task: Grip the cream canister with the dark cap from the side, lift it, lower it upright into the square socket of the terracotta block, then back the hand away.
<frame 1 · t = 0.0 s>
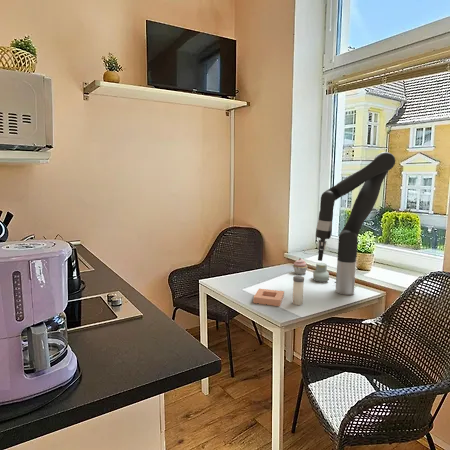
hand: (320, 258, 196), 17 cm above the table, tool pointing down, fingers open, 8 cm apart
socket block: (269, 299, 183), on the table
canister: (297, 303, 179), on the table
cupcake: (299, 273, 227), on the table
air freshener: (320, 280, 214), on the table
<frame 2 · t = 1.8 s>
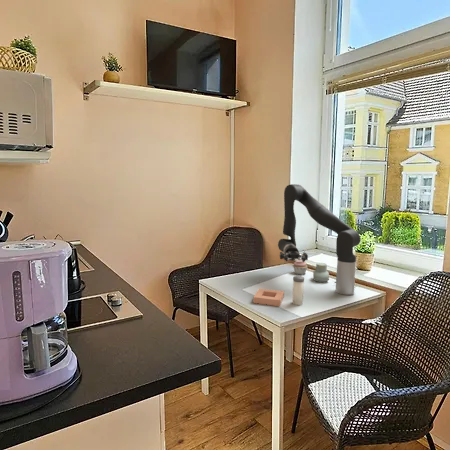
hand: (295, 259, 187), 19 cm above the table, tool horizontal, fingers open, 8 cm apart
nothing on the table moved.
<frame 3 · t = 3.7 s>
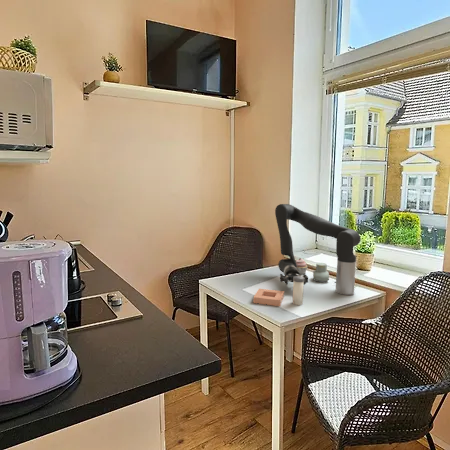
hand: (295, 282, 185), 8 cm above the table, tool horizontal, fingers open, 8 cm apart
nothing on the table moved.
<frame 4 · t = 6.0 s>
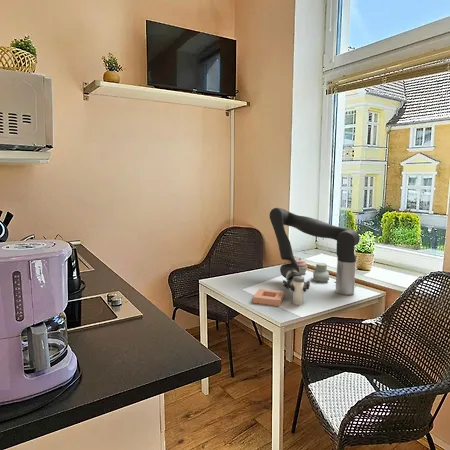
hand: (299, 289, 175), 8 cm above the table, tool horizontal, fingers closed on canister, 4 cm apart
canister: (297, 303, 179), on the table, touching gripper
everything else where it was.
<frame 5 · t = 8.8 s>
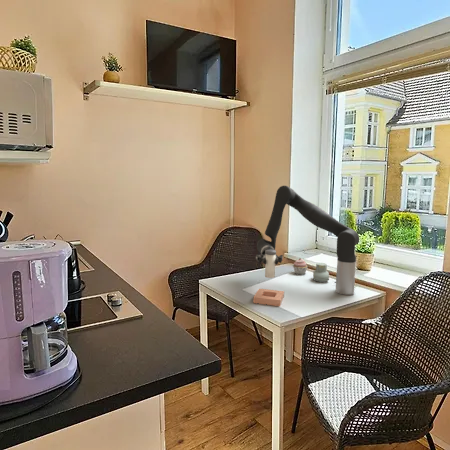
hand: (270, 262, 177), 20 cm above the table, tool horizontal, fingers closed on canister, 4 cm apart
canister: (269, 276, 181), point 12 cm above the table, touching gripper
everything else where it was.
when the fingers open (9 cm above the table, at t = 12.0 s): canister drops 1 cm, resting in socket block.
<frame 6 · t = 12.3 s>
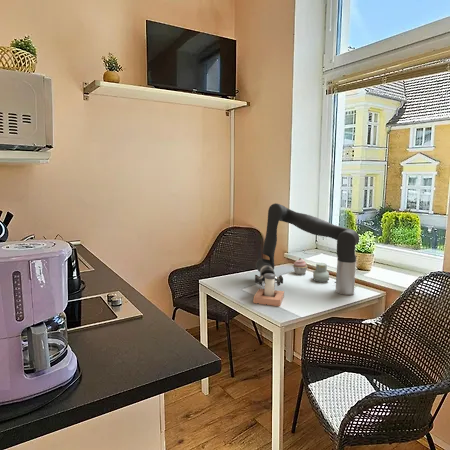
hand: (269, 283, 179), 9 cm above the table, tool horizontal, fingers open, 8 cm apart
canister: (269, 299, 183), resting in socket block
everything else where it was.
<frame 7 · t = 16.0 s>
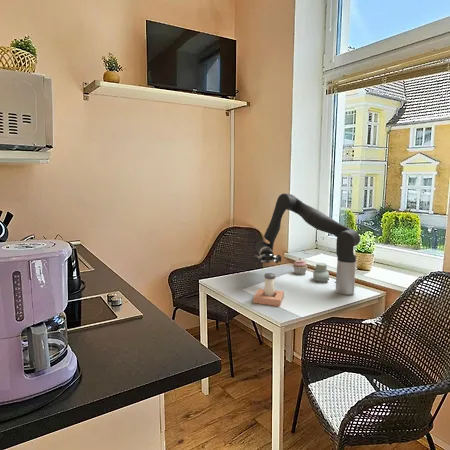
hand: (268, 261, 191), 17 cm above the table, tool horizontal, fingers open, 8 cm apart
nothing on the table moved.
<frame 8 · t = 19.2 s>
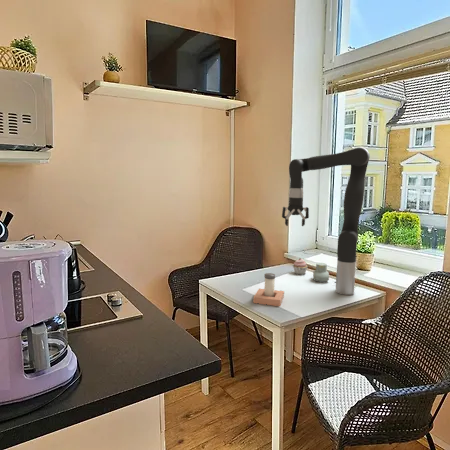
hand: (294, 225, 202), 33 cm above the table, tool pointing down, fingers open, 8 cm apart
nothing on the table moved.
at the end: canister 0.1 cm off-centre on the socket block, point 0.0 cm above the socket block's base; canister tilted 0°; the gripper is holding nothing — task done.
